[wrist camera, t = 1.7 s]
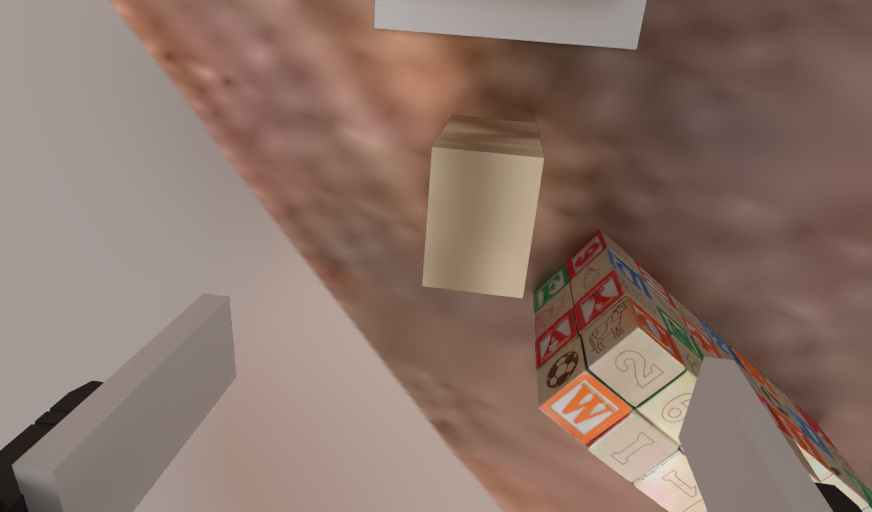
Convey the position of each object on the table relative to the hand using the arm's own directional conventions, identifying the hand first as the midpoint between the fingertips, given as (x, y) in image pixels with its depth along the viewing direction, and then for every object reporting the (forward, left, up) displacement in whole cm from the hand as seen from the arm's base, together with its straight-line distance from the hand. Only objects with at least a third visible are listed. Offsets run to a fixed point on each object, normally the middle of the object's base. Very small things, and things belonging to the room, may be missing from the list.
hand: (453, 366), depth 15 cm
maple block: (0, 0, -21) cm, 21 cm away
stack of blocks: (-14, +11, -21) cm, 28 cm away
